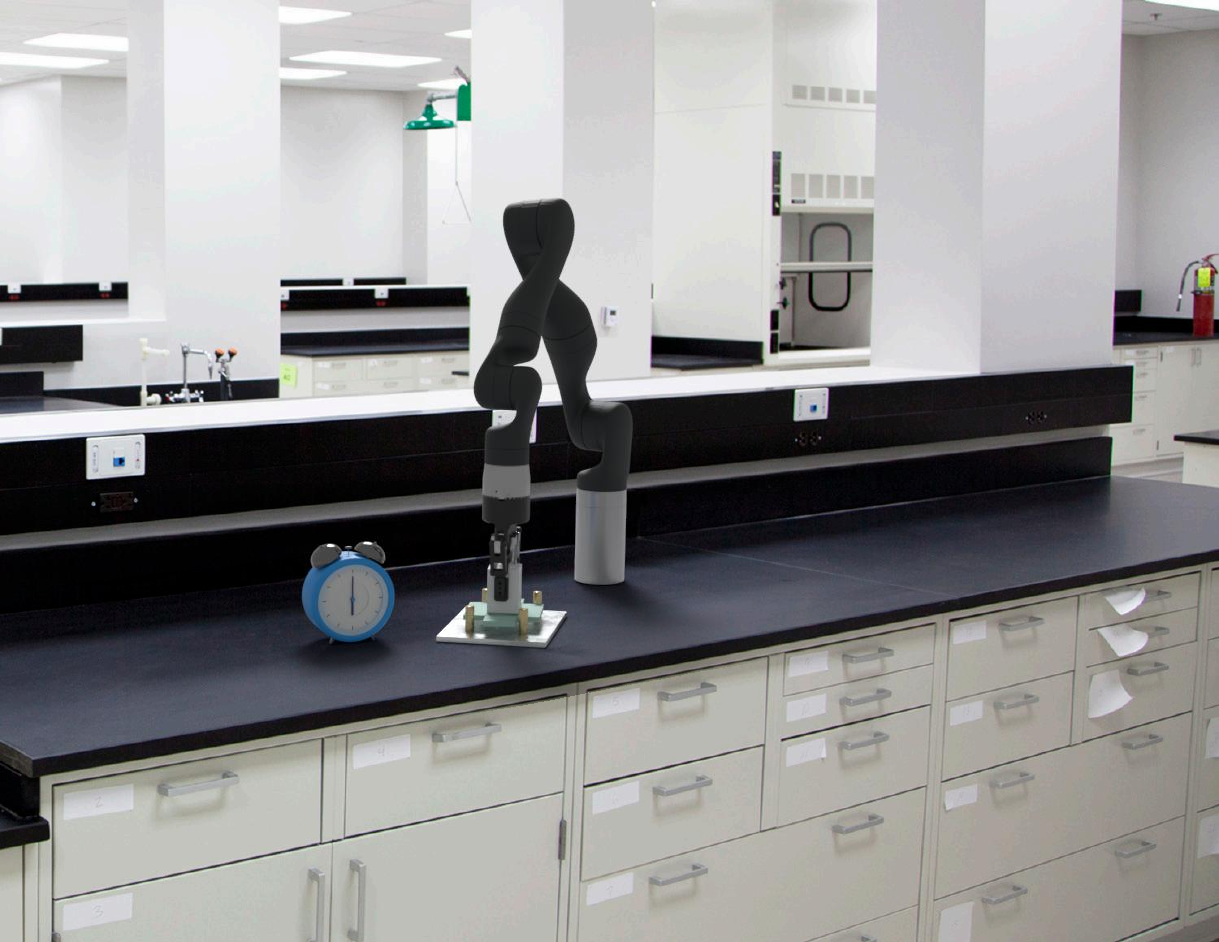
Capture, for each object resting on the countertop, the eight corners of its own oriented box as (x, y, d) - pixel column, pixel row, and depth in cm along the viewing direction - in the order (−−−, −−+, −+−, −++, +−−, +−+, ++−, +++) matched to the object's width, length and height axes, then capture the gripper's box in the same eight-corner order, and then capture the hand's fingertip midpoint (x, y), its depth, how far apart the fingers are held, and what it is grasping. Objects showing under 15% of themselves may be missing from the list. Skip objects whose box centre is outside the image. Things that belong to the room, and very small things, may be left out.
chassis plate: (466, 610, 252) (466, 582, 251) (566, 616, 250) (567, 587, 249) (436, 641, 231) (436, 610, 230) (545, 647, 229) (546, 616, 228)
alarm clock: (311, 647, 226) (311, 549, 224) (300, 637, 231) (300, 541, 229) (395, 639, 231) (396, 544, 229) (383, 630, 237) (383, 537, 235)
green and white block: (472, 601, 248) (473, 555, 247) (545, 604, 248) (546, 557, 247) (460, 625, 232) (460, 575, 231) (537, 627, 232) (538, 578, 231)
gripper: (492, 484, 245) (490, 586, 247) (473, 497, 231) (471, 605, 233) (537, 486, 244) (535, 588, 246) (521, 499, 230) (519, 608, 232)
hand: (504, 596), depth 240 cm, fingers closed on green and white block, 5 cm apart
